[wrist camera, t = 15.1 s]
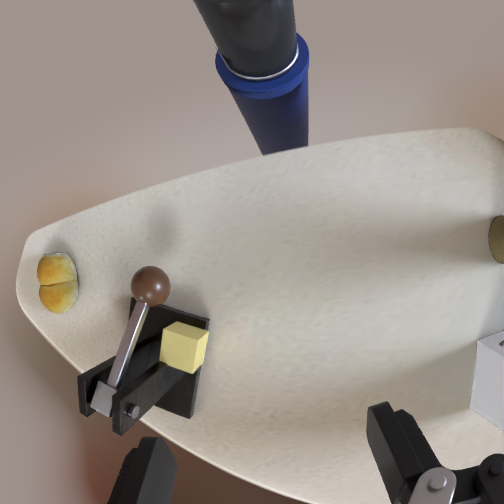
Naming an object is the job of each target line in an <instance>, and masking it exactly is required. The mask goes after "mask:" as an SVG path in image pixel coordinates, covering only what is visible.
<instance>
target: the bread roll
mask: <svg viewBox="0 0 504 504" xmlns="http://www.w3.org/2000/svg"><path fill="white" fill-rule="evenodd" d="M37 277H38V279H39V281H40V284H41V286H40V290H39V296H40V300H41V302H42V303H43V305H44V306H45V307H46V308H47V309H48V310H49V311H51V312H53V313H56V314H63V313H65V312H67V311H69V310H70V309H71V308H72V307H73V306H74V304H75V303H76V301H77V298H78V282H77V272H76V268H75V265H74V263H73V261H72V259H71V258H70V257H69V256H68V255H67V254H66V253H53V254H44V256H43V257H42V258H41V260H40V261H39V264H38V268H37Z"/></svg>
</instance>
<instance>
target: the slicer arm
mask: <svg viewBox="0 0 504 504" xmlns="http://www.w3.org/2000/svg"><path fill="white" fill-rule="evenodd" d="M170 287H171V286H170V281H169V278H168V276H167V275H166V273H165V272H164V271H163V270H161V269H159V268H157V267H154V266H147V267H143V268H141V269H139V270H138V271H137V272H136V273H135V274H134V276H133V278H132V281H131V291H132V294H133V296H134V298H135V299H136V300H137V302H136V305H135V307H134V310H133V312H132V315H131V317H130V320H129V323H128V325H127V328H126V330H125V333H124V336H123V338H122V341H121V344H120V347H119V349H118V352H117V355H116V358H115V361H114V363H113V366H112V369H111V372H110V375H109V378H108V381H107V382H102V381H98V383H97V386H96V389H95V393H94V396H93V399H92V402H91V406H90V407H92V408H93V409H95V410H97V411H99V412H100V413H102V414H104V415H106V416H108V417H112V395H113V394H115V393H116V392H118V391H119V390H120V389H121V385H122V382H123V379H124V376H125V373H126V370H127V367H128V364H129V362H130V359H131V356H132V353H133V350H134V347H135V345H136V342H137V339H138V336H139V334H140V331H141V328H142V326H143V323H144V321H145V318H146V315H147V313H148V310H149V308H150V307H155V306H158V305H160V304H162V303H163V302H164V301H165V300H166V299H167V298H168V296H169V293H170Z"/></svg>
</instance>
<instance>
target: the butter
mask: <svg viewBox="0 0 504 504" xmlns="http://www.w3.org/2000/svg"><path fill="white" fill-rule="evenodd" d="M208 334H209V331H206V330H203V329H200V328H197V327H193V326H190V325H187V324H184V323H181V322H178V321H176V322H175V323H173V324H171V325H169V326H168V327H166V328H164V329H163V335H162V342H161V350H160V359H159V361H162V362H165V363H167V365H169V366H172V367H174V368H177V369H180V370H183V371H186V372H188V373H191V374H193V373H194V372H195V371H196V370H197V369H198V367H199V366H200V365H201V364H202V363H203V361H204V356H205V351H206V345H207V340H208Z"/></svg>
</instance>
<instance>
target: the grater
mask: <svg viewBox="0 0 504 504" xmlns="http://www.w3.org/2000/svg"><path fill="white" fill-rule="evenodd" d="M503 340H504V331H501V332H498V333H496V334H493V335H490V336H488V337H485V338H482V339H479V340H477V352H476V363H475V373H474V381H473V388H472V394H471V400H470V406H469V409H471V410H472V411H474V412H475V413H477V414H478V415H480V416H481V417H483V418H484V419H486V420H487V421H489V422H490V423H492V424H493V425H495V426H496V427H498V428H499V429H501V430H502V431H504V345H503V347H502V346H501V345H499V343H500V342H501V341H503Z"/></svg>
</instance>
